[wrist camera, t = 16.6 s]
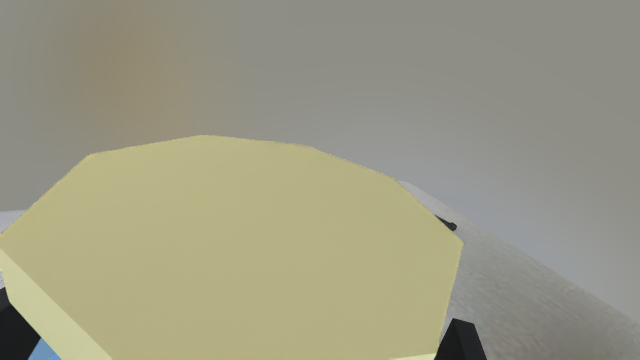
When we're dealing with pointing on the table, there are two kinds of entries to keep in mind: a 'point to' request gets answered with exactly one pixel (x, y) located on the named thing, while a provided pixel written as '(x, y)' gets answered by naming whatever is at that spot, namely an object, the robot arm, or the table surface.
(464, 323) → the robot arm
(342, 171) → the jar
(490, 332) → the table surface
